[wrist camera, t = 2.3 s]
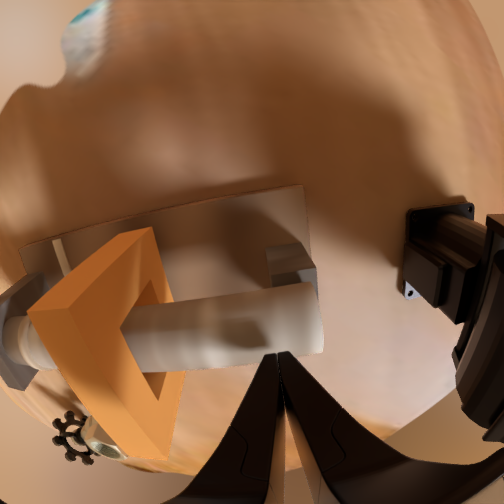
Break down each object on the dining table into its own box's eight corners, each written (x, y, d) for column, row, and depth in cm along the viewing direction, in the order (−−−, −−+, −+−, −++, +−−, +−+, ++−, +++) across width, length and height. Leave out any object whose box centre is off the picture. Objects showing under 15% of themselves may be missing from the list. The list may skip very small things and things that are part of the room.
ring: (151, 226, 14) (68, 308, 6) (190, 349, 16) (167, 460, 9) (119, 233, 14) (26, 311, 6) (161, 351, 16) (128, 456, 9)
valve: (107, 365, 20) (63, 401, 22) (79, 422, 13) (41, 442, 16) (165, 407, 22) (107, 433, 24) (151, 466, 15) (93, 476, 18)
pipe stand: (300, 184, 15) (353, 218, 7) (312, 319, 18) (346, 412, 11) (26, 244, 16) (-45, 291, 8) (68, 343, 19) (24, 407, 11)
